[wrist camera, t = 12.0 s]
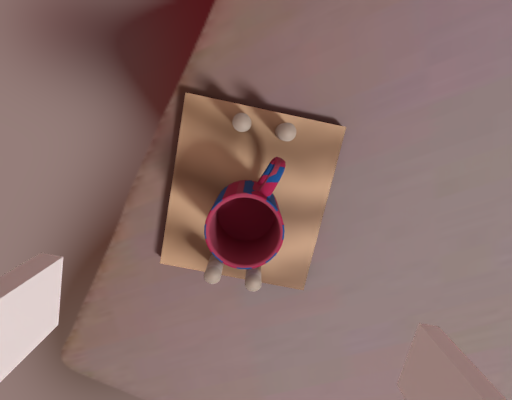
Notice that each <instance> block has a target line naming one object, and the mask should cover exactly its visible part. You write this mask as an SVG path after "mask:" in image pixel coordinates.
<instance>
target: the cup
mask: <svg viewBox="0 0 512 400" xmlns="http://www.w3.org/2000/svg"><path fill="white" fill-rule="evenodd" d="M285 166H286V164H285V161H284V160H283V159H282V158H280V157H275V158H273V159H272V160H271V162H270V163H269V165H268V166H267V168H266V169H265V171H264V173H263V174H262V176H261V177H260V179H259V180H258V182H257V181H252V180H240V181H236V182H233V183H231V184H229V185H228V186H227V187H225V188H224V189H223V190H222V191H221V192H220V194H219V195H218V197H217V199H216V201H215V202H214V204H213V206H212V208H211V210H210V212H209V213H208V216H207V218H206V221H205V226H204V235H205V241H206V243H207V246H208V248H209V250H210V251H211V253H212V254H213V255H214V256H215V258H217V259H218V260H219V261H220V262H222V263H223V264H225V265H227V266H230V267H232V268H237V269H253V268H257V267H260V266H262V265H264V264H266V263H267V262H269V261H270V260H271V259H272V258H273V257H274V256H276V254H277V253H278V251H279V250H280V248H281V246H282V243H283V240H284V232H285V230H284V223H283V219H282V216H281V213H280V210H279V206H278V203H277V200H276V198H275V196H274V194H273V191H274V189H275V188H276V186H277V184H278V182H279V181H280V179H281V177H282V175H283V172H284V170H285Z"/></svg>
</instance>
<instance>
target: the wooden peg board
mask: <svg viewBox="0 0 512 400" xmlns="http://www.w3.org/2000/svg"><path fill="white" fill-rule="evenodd" d="M345 130H346V127H344V126H339V125H334V124H330V123H325V122H320V121H316V120H311V119H306V118H302V117H297V116H292V115H288V114H283V113H279V112H274V111H269V110H265V109H260V108H255V107H251V106H246V105H241V104H237V103H232V102H227V101H223V100H218V99H214V98H209V97H204V96H200V95H195V94H190V93H186V92H185V99H184V106H183V112H182V119H181V126H180V132H179V139H178V146H177V153H176V159H175V166H174V173H173V179H172V186H171V193H170V199H169V206H168V213H167V220H166V226H165V233H164V240H163V246H162V253H161V260H160V263H161V264H166V265H172V266H177V267H182V268H188V269H193V270H198V271H204V272H205V273H204V279H205V281H206V282H208V283H210V284H215V283H217V282H219V280H220V278H221V275H225V276H230V277H236V278H241V279H245V287H246V288H247V289H248V290H249V291H257V290H259V289H260V288H261V285H262V283H268V284H273V285H278V286H284V287H289V288H294V289H300V290H303V289H304V286H305V282H306V278H307V274H308V270H309V267H310V263H311V259H312V255H313V251H314V248H315V244H316V240H317V236H318V232H319V229H320V225H321V221H322V217H323V213H324V210H325V206H326V202H327V198H328V194H329V191H330V187H331V183H332V179H333V175H334V172H335V168H336V164H337V160H338V156H339V153H340V149H341V145H342V141H343V137H344V134H345ZM275 157H280V158H282V159H283V160H284V161H285V164H286V166H285V170H284V172H283V175H282V177H281V179H280V181H279V182H278V184H277V186H276V188H275V189H274V191H273V194H274V196H275V198H276V200H277V203H278V206H279V210H280V213H281V216H282V219H283V223H284V230H285V232H284V240H283V243H282V246H281V248H280V250H279V251H278V253H277V254H276V256H274V257H273V258H272V259H271V260H270V261H269V262H267V263H266V264H264V265H262V266H260V267H257V268H253V269H237V268H232V267H230V266H227V265H225V264H223V263H222V262H220V261H219V260H218V259H217V258H215V256H214V255H213V254H212V253H211V251H210V250H209V248H208V246H207V243H206V241H205V235H204V226H205V221H206V218H207V216H208V213H209V212H210V210H211V208H212V206H213V204H214V202H215V201H216V199H217V197H218V195H219V194H220V192H221V191H222V190H223V189H224V188H225V187H227V186H228V185H229V184H231V183H233V182H236V181H240V180H252V181H257V182H258V180H259V179H260V177H261V176H262V174H263V173H264V171H265V169H266V168H267V166H268V165H269V163H270V162H271V160H272V159H273V158H275Z"/></svg>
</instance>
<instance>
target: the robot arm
mask: <svg viewBox="0 0 512 400" xmlns="http://www.w3.org/2000/svg"><path fill="white" fill-rule="evenodd" d="M62 266H63V257H61V256H56V255H51V254H46V253H40V254H38V255H36V256H35V257H33V258H32V259H29V260H28V261H26V262H24V263H22V264H21V265H19V266H17V267H15V268H14V269H12V270H10V271H9V272H7V273H5V274H3V275H2V276H0V382H1V381H2V380H3V379H4V378H5V377H6V376H7V375H8V374H9V373H10V372H11V371H12V370H13V369H14V368H15V367H16V366H17V365H18V364H19V363H20V362H21V361H22V360H23V359H24V358H25V357H26V356H27V355H28V354H29V353H30V352H31V351H32V350H33V349H34V348H35V347H36V346H37V345H38V344H39V343H40V342H41V341H42V340H43V339H44V338H45V337H46V336H47V335H48V334H49V333H50V332H51V331H52V330H53V329H54V328H55V327H56V326H57V325H58V320H59V306H60V293H61V280H62ZM397 385H398V387H399V389H400V391H401V393H402V394H403V396H404V398H405V400H507V399H506V398H505V397H504V396H503V395H502V394H501V393H500V392H499V391H498V390H497V389H496V388H495V387H494V386H493V384H492V383H491V382H490V381H489V380H488V379H487V378H486V377H485V376H484V375H483V374H482V373H481V372H480V370H479V369H478V368H477V367H476V366H475V365H474V364H473V363H472V362H471V361H470V360H469V359H468V358H467V357H466V355H465V354H464V353H463V352H462V351H461V350H460V349H459V348H458V347H457V346H456V345H455V344H454V343H453V341H452V340H451V339H450V338H449V337H448V336H447V335H446V334H445V333H444V332H443V331H442V330H441V329H440V328H439V327H437V326H432V325H427V324H421V323H419V325H418V328H417V331H416V333H415V336H414V339H413V342H412V344H411V347H410V350H409V353H408V355H407V358H406V361H405V364H404V366H403V369H402V372H401V375H400V377H399V380H398V383H397Z"/></svg>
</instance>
